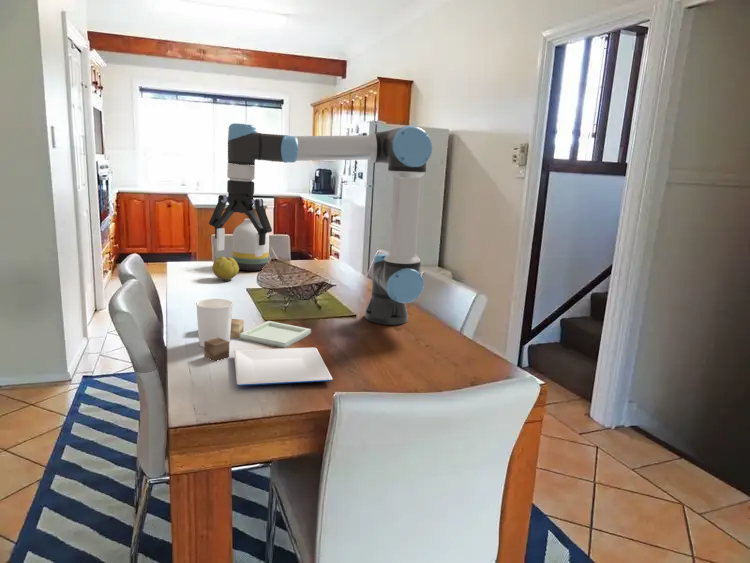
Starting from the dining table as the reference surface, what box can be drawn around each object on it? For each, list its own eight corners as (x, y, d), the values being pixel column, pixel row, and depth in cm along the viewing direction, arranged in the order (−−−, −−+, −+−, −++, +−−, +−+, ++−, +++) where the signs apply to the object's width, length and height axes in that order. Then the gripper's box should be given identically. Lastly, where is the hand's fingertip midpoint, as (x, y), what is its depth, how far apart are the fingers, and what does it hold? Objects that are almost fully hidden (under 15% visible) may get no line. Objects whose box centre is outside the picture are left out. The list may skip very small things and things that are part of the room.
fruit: (205, 279, 224) (205, 256, 222) (227, 276, 234) (227, 254, 232) (222, 284, 218) (222, 260, 216) (244, 280, 228) (244, 257, 226)
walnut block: (229, 357, 139) (229, 341, 138) (214, 361, 136) (215, 345, 135) (218, 353, 142) (218, 337, 141) (204, 357, 138) (204, 341, 137)
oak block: (243, 333, 159) (243, 319, 158) (239, 338, 155) (239, 324, 154) (228, 332, 159) (228, 318, 158) (224, 337, 155) (224, 322, 154)
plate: (332, 386, 126) (333, 378, 126) (236, 392, 120) (237, 383, 119) (316, 353, 147) (316, 346, 147) (233, 356, 140) (233, 349, 140)
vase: (275, 270, 252) (276, 221, 247) (245, 274, 240) (245, 222, 235) (255, 264, 263) (256, 216, 258) (225, 267, 251) (225, 217, 246)
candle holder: (210, 352, 142) (210, 309, 139) (189, 343, 148) (188, 302, 145) (239, 344, 150) (240, 303, 147) (218, 335, 155) (218, 296, 153)
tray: (310, 333, 163) (311, 329, 163) (285, 348, 149) (285, 343, 148) (268, 325, 168) (268, 320, 168) (239, 338, 154) (239, 333, 154)
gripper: (285, 183, 149) (282, 257, 153) (214, 176, 157) (213, 246, 162) (270, 183, 142) (268, 260, 146) (196, 176, 150) (196, 249, 155)
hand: (239, 253), depth 154 cm, fingers open, 13 cm apart
